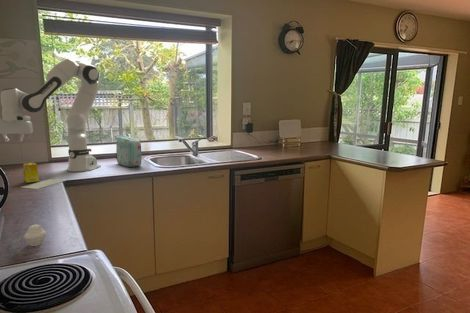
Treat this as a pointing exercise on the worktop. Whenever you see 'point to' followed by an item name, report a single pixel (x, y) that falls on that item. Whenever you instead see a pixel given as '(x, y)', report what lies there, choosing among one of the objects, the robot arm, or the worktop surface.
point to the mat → (43, 184)
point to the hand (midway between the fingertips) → (14, 141)
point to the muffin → (35, 235)
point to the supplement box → (30, 173)
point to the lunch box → (128, 151)
